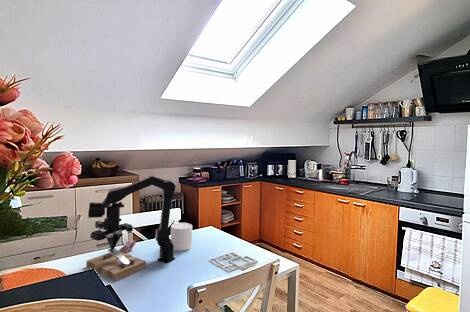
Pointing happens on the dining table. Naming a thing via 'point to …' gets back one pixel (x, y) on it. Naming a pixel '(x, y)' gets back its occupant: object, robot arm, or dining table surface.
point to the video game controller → (127, 246)
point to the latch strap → (119, 256)
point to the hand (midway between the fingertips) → (112, 249)
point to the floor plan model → (225, 256)
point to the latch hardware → (112, 256)
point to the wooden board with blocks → (115, 266)
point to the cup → (181, 236)
